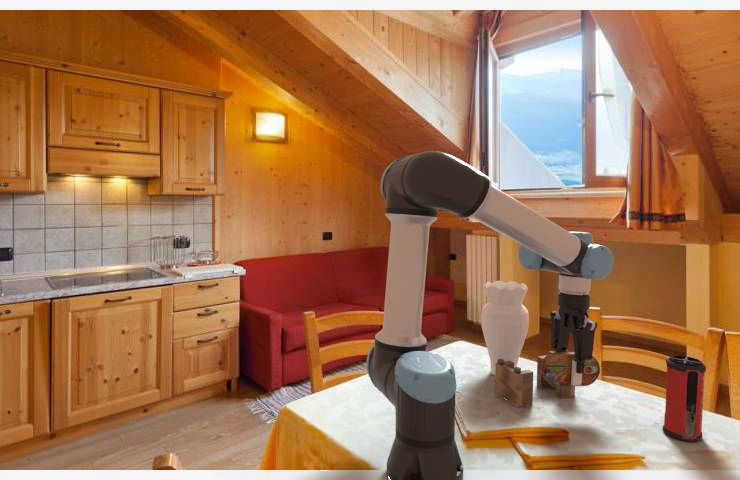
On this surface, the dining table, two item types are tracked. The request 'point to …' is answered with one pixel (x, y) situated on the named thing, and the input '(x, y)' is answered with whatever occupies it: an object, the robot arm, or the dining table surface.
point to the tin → (567, 369)
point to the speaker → (684, 398)
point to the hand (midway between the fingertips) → (569, 381)
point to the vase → (504, 321)
